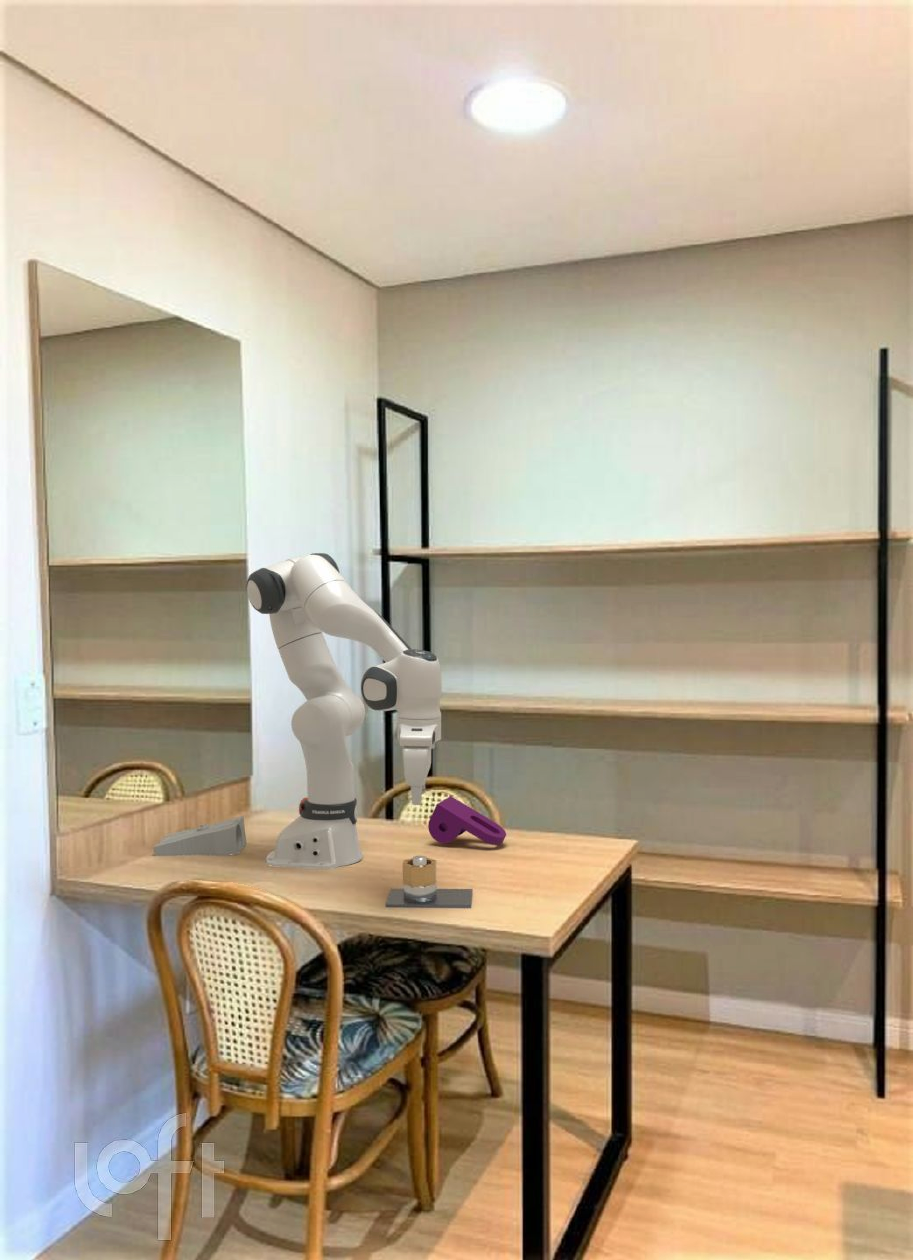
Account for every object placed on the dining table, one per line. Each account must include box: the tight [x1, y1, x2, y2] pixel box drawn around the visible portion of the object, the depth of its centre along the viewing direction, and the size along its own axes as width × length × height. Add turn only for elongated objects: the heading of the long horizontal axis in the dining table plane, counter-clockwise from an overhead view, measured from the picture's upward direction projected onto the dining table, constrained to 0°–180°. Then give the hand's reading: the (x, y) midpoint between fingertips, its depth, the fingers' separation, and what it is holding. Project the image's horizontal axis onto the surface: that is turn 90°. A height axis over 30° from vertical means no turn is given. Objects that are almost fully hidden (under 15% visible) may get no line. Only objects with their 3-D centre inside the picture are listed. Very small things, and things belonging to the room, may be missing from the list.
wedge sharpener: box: [153, 815, 247, 857], centre depth 240 cm, size 11×20×7 cm, turn 91°
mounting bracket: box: [427, 795, 507, 846], centre depth 244 cm, size 9×8×18 cm
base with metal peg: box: [384, 855, 474, 909], centre depth 198 cm, size 17×10×9 cm, turn 87°
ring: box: [402, 857, 437, 887], centre depth 198 cm, size 7×7×4 cm
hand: (418, 798), depth 197 cm, fingers open, 8 cm apart
